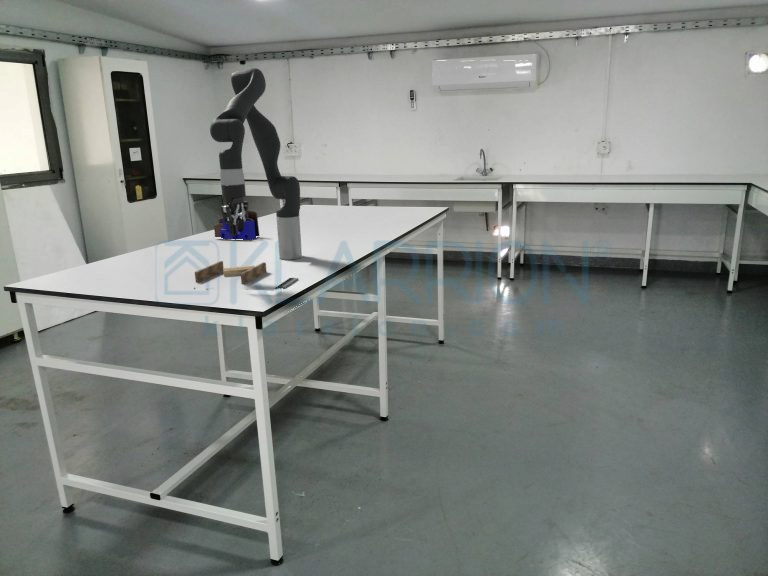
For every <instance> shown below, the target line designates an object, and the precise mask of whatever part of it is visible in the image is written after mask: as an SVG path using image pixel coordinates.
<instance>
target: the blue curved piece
mask: <svg viewBox="0 0 768 576" xmlns="http://www.w3.org/2000/svg"><path fill="white" fill-rule="evenodd" d="M227 220H228V219H227ZM222 222H223V229H220V236H221V238H223V239H243V240H250V241H252V239H253V240H256V239H257V238H256V235H255V225H254V221H253V220H250V221H245V222H244V228H243V231H242V232H239V231H238V230H237V236H230V230H229V225H228V224H225V223H224V220H222Z"/></svg>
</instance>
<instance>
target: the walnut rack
mask: <svg viewBox="0 0 768 576" xmlns="http://www.w3.org/2000/svg"><path fill="white" fill-rule="evenodd" d="M254 266H255V267H253V268H251V269H249V270H247V271H245V272H243V273H241V275H240V281H241V283H240V284H241V285H246V284H247V283H249V282H252V281H253V280H255V279H257V278H259V277H261V276H263V275H264V274H266V273H267V272H268V271H267V263H266V262H261V263H259V264H258V265H254ZM223 268H225V267H224V261H223V260H219V261H217V262H214V263H213V264H212V263H211V264H210V265H208V266H206V267H203V268H200V269H198V270H196V271H194V277H195V283H200V282H202V281H205V280H207V279H209V278H211V277H213V276H215V275H218V274H219V273H220V274H221V273H223Z"/></svg>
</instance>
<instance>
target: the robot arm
mask: <svg viewBox="0 0 768 576" xmlns="http://www.w3.org/2000/svg"><path fill="white" fill-rule="evenodd" d="M230 82H231V86H232V90H233V92H234V95H235V96H233V97H232V98H231V99H230V100H229V102H228V103H227V104H226V107H225V109H224V110H223V111H221V113H220V114H218V115H216V117H215V118H214V119H213V120H212V121H211V124H210V126H209V127H210V128H209V132H210V137H211V138H212V139H213V140H214V141H215V142H217V143H232V144H231V147H230V148H227V149H223V150H220V152H219V153H218V159H219V170H220V172H219V173H220V175H219V177H220V179H219V180H220V187H221V188H220V189H221V195H222V196H221V197H222V198H223V199H225V205H222V206H220V211H221V214H222V218H223V219H224V223H225V224H228V225H229V230H230V236H237V229H236V225H235V224H236V218H237V221H238V231H239V232H242V231H243V228H244V222H245V221H246V219H248V211H249V202H248V200H247V201H244V199H243V198H245V197H246V195H247V194H246V185H245V184H246V183H245V173H244V170H243V161H242V160H243V157H242V152H243V144H244V140H245V139H244V138H245V134H246V133H245V132H246V130H245V126H244V123H245V121H246V122H247V125H248V126H249V130H250V132H251V136H252V139H253V142H254V145H255V147H256V149H257V152H258V154H259V155H258V156H259V158H260V160H261V163H262V166H263V169H264V173H265V176H266V180H267V184H268V188H269V190H270V194H271V196H272V197H274V198H275V199H277V200H285V202H284V205H283V206H282V207H279V208H277V209H276V211H275V215H276V229H277V241H278V242H277V244H278V253H279V259H280V260H288V261H289V260H296V259H301V258H302V257H303V255H302V254H303V252H302V237H301V236H302V235H301V222H300V220H301V219H300V210H301V185H300V182H299V180H298V178H297V177H296V176H291V175H282V174H281V173H280V170H279V167H278V160H279V156H280V151H281V147H282V146H281V140H280V138H279V134H278V131H277V128H276V127H275V125H274V124H273V123H272V122H271V120H269V119H268V118H267V117H266V116H264V114H262V112H261V111H259V110H258V109H257V107H256V106H255V104H256V103H257V101H259V99H260V98H261V97H262V96H263V95H264V93H265V91H266V86H267V85H266V78H265V76H264V73H263V72H262V70H261V69H259V68H256V67H255V68H247V69H241V70H237V71H234V72H232V73H231V75H230ZM227 217H228V220H227ZM232 218H233V220H232Z"/></svg>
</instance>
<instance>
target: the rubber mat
mask: <svg viewBox="0 0 768 576" xmlns="http://www.w3.org/2000/svg"><path fill="white" fill-rule="evenodd" d="M297 281H299V278H298V277H289V278H287V279H286V280H285V281H283V282H281V283H280V284H278V285H277V286H276V287H275V289H279V288H283V289H286V288H288V287H289V286H291V285H292V284H294V283H296V282H297Z"/></svg>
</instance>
